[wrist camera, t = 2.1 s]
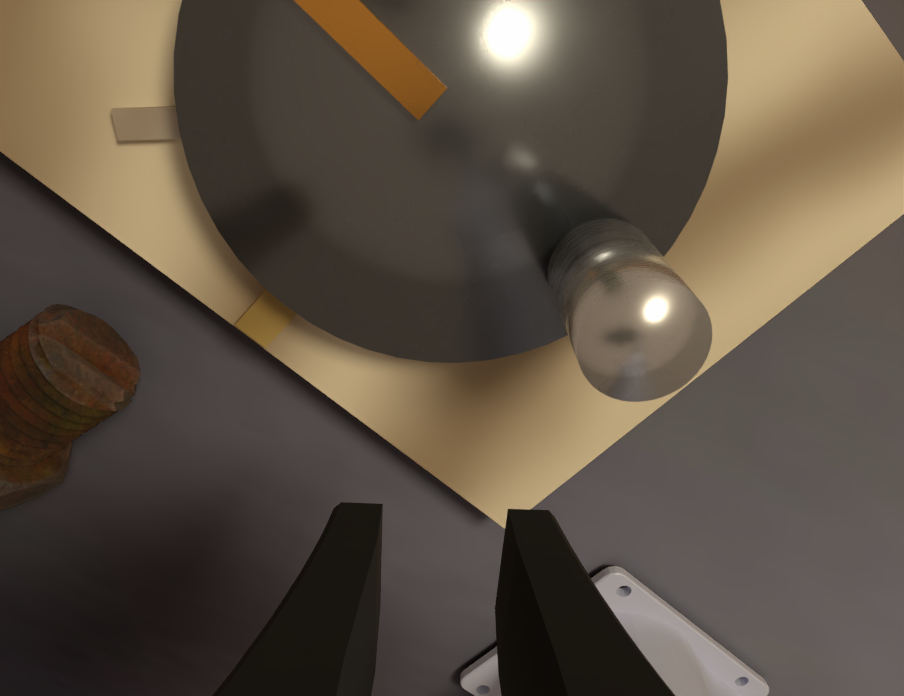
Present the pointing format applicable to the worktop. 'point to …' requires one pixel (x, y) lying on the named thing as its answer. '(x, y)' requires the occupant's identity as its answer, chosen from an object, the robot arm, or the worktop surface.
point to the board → (512, 377)
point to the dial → (464, 170)
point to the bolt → (56, 395)
